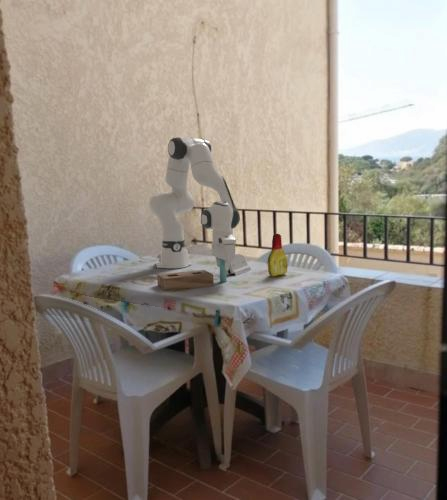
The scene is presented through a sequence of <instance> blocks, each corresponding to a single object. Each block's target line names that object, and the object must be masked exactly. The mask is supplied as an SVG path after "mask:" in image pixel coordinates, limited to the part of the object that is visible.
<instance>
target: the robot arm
mask: <svg viewBox="0 0 447 500" xmlns="http://www.w3.org/2000/svg"><path fill="white" fill-rule="evenodd" d="M167 145H168V146H167V152H168V153H167V154H168V155H169V158H168V161H167V167H166V173H165V183H166V184H167V185H168V186H169V187H171V192H168V193H167V192H166V193H158V194H155V195H153V196H151V197H150V200H149V205H148V206H149V209H150V211H151V212H152V214H154V215H156V217H157V219H158V220H159V221H160V225H161V230H162V242H161V247H162V248H161V249H160V252H159V253H158V254H156V258H157V259H158V261H156V262H155V266H156V268H157V269H181V268H186V267H188V266H192V262H189V261H190V259H189V251H188V249H186V239H185V232H184V228H185V227H184V224H182V222H180V221H178V220H177V219H176V215H177V214H178V215H179V214H186V213H188V212H190V211H192V210H193V209H194V205H195V200H194V196H193V195H192V194H191V193H190V191H189V190H188V177H189V176H188V175H189V171H190V169H191V174H192V177H193V179H194V180H195V182H197V183H198V184H200V185H202V186H203V187H208V188H209V189H212V190H214V191H215V192H216V193H217V194H218V196H219V199H220V200H219V201H215V202H213V203H212V206H210V207H208V208H206V209H204V210H203V211H202V212H201V214H200V224H201V225H202V227H204V229H206V230H207V229H208V230H211V232H212V236H211V237H212V240H211V255H212V256H213V257H215V262H216V266H217V267H219V268H220V261H219V258H220V259H223V260H225V266H224V269H225V270H229V265H230V261H234V259H235V254H236V245H235V244H236V243H237V239H236V237H235V236H234V235H233V229H235V228H236V227H237V226H238V225H239V223H240V221H241V217H240V216H241V215H240V212H239V210H238V209H237V207H236V204H235V203H234V200H233V196H232V195H231V192H230V189H229V187H228V185H227V182H226V179H225V177H224V176H223V175H222V174H220V173H219V172H218V170H217V169H216V166H215V162H214V157H213V154H212V145H211V143H210V141H209V140H207V139H205V138H199V137H198V138H197V137H190V136H189V137H173V138H170V140H169V142H168V144H167Z"/></svg>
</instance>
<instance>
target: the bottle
mask: <svg viewBox="0 0 447 500" xmlns="http://www.w3.org/2000/svg"><path fill="white" fill-rule="evenodd" d="M267 270H268V275H269V276H270V277H277V276H282V275H283V276H284V275H286V274H287V273H288V257H287V254H286V252H285V251H284V249H283V246H282V235H281V234H280V233H275V234H273V235H272V240H271V251H270V253H269V255H268V258H267Z"/></svg>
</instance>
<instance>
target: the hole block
mask: <svg viewBox="0 0 447 500" xmlns="http://www.w3.org/2000/svg"><path fill="white" fill-rule="evenodd" d="M156 275H157V286H158V287H159V288H160V289H162V290H163V291H164V292H165V291H174V290H176V291H177V290H183V289H192V288H193V289H194V288H195V289H196V288H201V287H202V288H203V287H212V286H213V287H214V274H213V273H211V272H209V271H207V270H206V269H201V270H200V269H199V270H190V271H189V270H188V271H179V272H167V273H157V274H156Z"/></svg>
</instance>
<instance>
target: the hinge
mask: <svg viewBox="0 0 447 500" xmlns="http://www.w3.org/2000/svg"><path fill="white" fill-rule="evenodd" d="M250 271H252V268H251V266H249V265H248V262H247V260H246V257H245V256H244V255H243V254H240V253H237V254H236V253H235V259H234V261H230V265H229V270H226V276H229V275H232V274H234V276H236V277H237V276H239V275H242V274H244V273H247V272H250Z"/></svg>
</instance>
